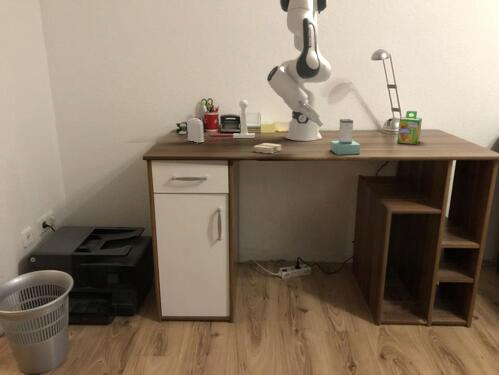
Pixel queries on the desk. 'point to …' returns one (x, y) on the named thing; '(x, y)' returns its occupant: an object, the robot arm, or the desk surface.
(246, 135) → the joystick
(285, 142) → the desk surface
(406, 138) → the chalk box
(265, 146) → the stand
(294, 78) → the robot arm
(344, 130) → the block
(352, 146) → the stand
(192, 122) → the grey arched block
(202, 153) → the desk surface
